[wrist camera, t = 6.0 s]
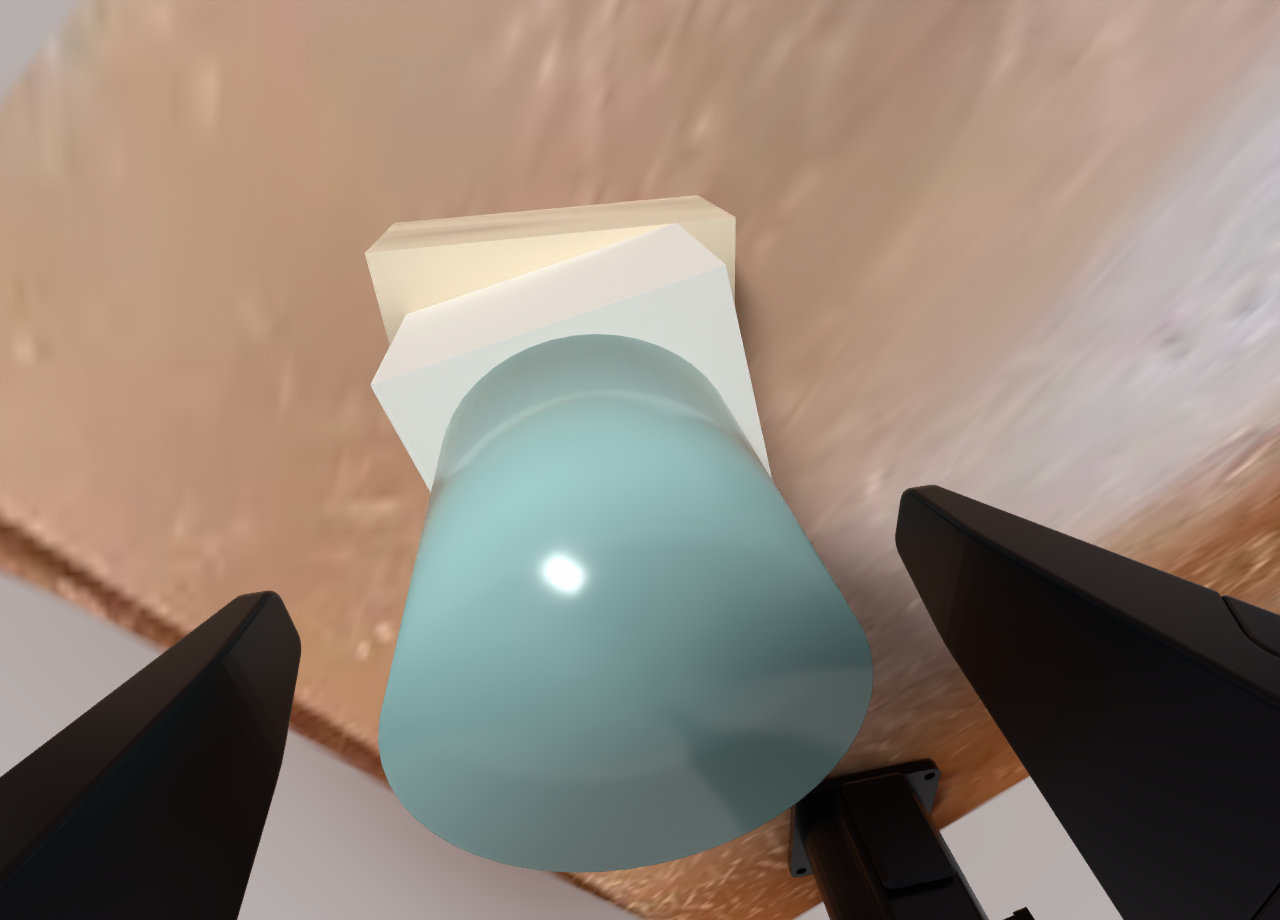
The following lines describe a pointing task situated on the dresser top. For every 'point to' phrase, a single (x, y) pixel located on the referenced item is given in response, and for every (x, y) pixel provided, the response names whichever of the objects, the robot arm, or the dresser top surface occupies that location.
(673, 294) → the tower mid
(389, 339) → the tower base
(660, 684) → the teal rounded cylinder
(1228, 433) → the dresser top surface
